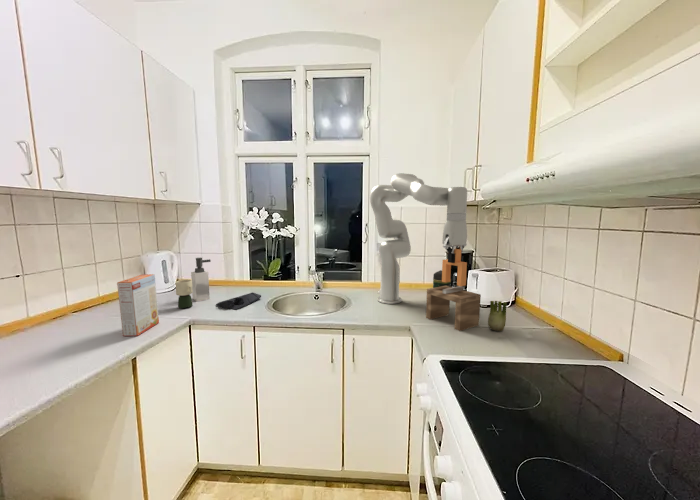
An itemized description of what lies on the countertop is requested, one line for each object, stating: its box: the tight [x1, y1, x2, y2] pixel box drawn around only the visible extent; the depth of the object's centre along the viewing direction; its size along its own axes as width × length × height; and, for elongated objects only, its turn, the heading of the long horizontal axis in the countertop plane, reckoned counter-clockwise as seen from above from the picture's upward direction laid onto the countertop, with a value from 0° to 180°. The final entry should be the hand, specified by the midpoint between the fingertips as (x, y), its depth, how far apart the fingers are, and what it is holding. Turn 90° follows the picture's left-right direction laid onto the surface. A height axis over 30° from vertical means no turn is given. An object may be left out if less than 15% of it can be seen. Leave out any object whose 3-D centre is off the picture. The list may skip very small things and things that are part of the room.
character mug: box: [175, 279, 193, 309], centre depth 151 cm, size 11×7×13 cm, turn 60°
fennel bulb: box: [487, 300, 508, 332], centre depth 123 cm, size 6×5×12 cm
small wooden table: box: [425, 285, 481, 332], centre depth 133 cm, size 18×12×15 cm, turn 32°
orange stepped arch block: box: [441, 249, 468, 287], centre depth 131 cm, size 10×3×14 cm, turn 32°
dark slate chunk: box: [215, 292, 262, 311], centre depth 160 cm, size 15×22×5 cm
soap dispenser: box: [190, 257, 212, 302], centre depth 165 cm, size 6×9×22 cm
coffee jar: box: [432, 269, 452, 309], centre depth 149 cm, size 10×8×19 cm
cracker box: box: [116, 273, 160, 337], centre depth 122 cm, size 14×6×21 cm, turn 1°
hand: (454, 261), depth 131 cm, fingers closed on orange stepped arch block, 3 cm apart
